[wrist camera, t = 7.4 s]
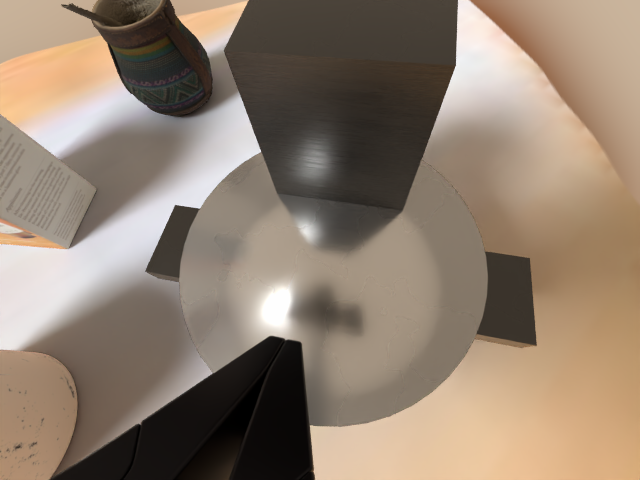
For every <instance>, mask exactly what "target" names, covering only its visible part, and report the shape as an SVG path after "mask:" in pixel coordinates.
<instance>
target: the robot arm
mask: <svg viewBox="0 0 640 480" xmlns="http://www.w3.org/2000/svg"><path fill="white" fill-rule="evenodd" d="M313 471H314V465H313V455H312V444H311V434H310V423H309V412H308V402H307V391H306V381H305V370H304V359H303V349H302V343H301V342H300V341H296V340H291V339H287V340H285V339H284V338H282V337H277V336H269V337H267V338H265V339H264V340H262V341H261V342H259V343H258V344H256V345H255V346H253V347H252V348H250V349H249V350H247V351H246V352H244V353H243V354H241V355H240V356H238V357H237V358H235V359H234V360H232V361H231V362H229V363H228V364H226V365H225V366H223V367H222V368H220V369H219V370H217V371H216V372H215V373H213V374H212V375H210V376H209V377H207V378H206V379H204V380H203V381H201V382H200V383H198V384H197V385H195V386H194V387H192V388H191V389H189V390H188V391H186V392H185V393H183V394H182V395H180V396H179V397H177V398H176V399H174V400H173V401H171V402H170V403H168V404H167V405H165V406H164V407H162V408H161V409H159V410H158V411H156V412H155V413H153V414H152V415H150V416H149V417H147V418H146V419H144V420H143V421H142V422H141V425H140V424H136V425H135V426H133V427H132V428H130V429H129V430H127V431H126V432H124V433H123V434H121V435H120V436H118V437H117V438H115V439H114V440H112V441H111V442H109V443H108V444H106V445H104V446H103V447H101V448H100V449H98V450H97V451H95V452H93V453H92V454H90V455H89V456H87V457H86V458H84V459H82V460H81V461H79V462H77V463H76V464H74V465H72V466H71V467H69V468H67V469H66V470H64V471H62V472H61V473H59V474H57V475H56V476H54V477H52V478H50V479H49V480H315V474H314V472H313Z"/></svg>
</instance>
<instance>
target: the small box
mask: <svg viewBox="0 0 640 480" xmlns="http://www.w3.org/2000/svg"><path fill="white" fill-rule="evenodd" d="M96 190H97V189H96V187H95V186H93V185H92V184H90V183H89V182H88V181H87V180H85V179H84V178H83V177H81V176H80V175H79V174H77V173H76V172H75V171H74V170H72V169H71V168H70V167H68V166H67V165H66V164H64V163H63V162H62V161H60V160H59V159H58V158H57V157H55V156H54V155H53V154H51V153H50V152H49V151H48V150H46V149H45V148H44V147H42V146H41V145H40V144H38V143H37V142H36V141H34V140H33V139H32V138H30V137H29V136H28V135H27V134H25V133H24V132H23V131H21V130H20V129H19V128H18V127H16V126H15V125H14V124H12V123H11V122H10V121H8V120H7V119H6V118H4V117H3V116H2V115H1V114H0V244H10V245H21V246H33V247H45V248H57V249H68V248H69V247H70V244H71V242H72V240H73V238H74V236H75V234H76V232H77V229H78V227H79V225H80V223H81V221H82V219H83V217H84V215H85V213H86V211H87V209H88V207H89V205H90V203H91V201H92V199H93V197H94V194H95V192H96Z"/></svg>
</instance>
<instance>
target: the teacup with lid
mask: <svg viewBox="0 0 640 480" xmlns="http://www.w3.org/2000/svg"><path fill="white" fill-rule="evenodd" d="M77 406H78V401H77V392H76V387H75V384H74V381H73V378H72V376H71V374H70V373H69V371H68V370H67V368H66V367H65V366H64V365H63V364H62V363H61V362H60V361H58V360H57V359H55V358H54V357H52V356H50V355H47V354H43V353H38V352H27V351H12V350H0V480H49V479H50V478H51V476H52V475H53V473H54V472H55V471H56V469H57V467H58V466H59V464H60V462H61V461H62V459H63V457H64V455H65V453H66V451H67V448H68V446H69V443H70V441H71V438H72V435H73V432H74V428H75V424H76V418H77Z"/></svg>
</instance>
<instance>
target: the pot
mask: <svg viewBox="0 0 640 480" xmlns="http://www.w3.org/2000/svg"><path fill="white" fill-rule="evenodd" d="M199 210H200V209H198V208H191V207H184V206H178V205H175V207H174V209H173V211H172V213H171V216H170V218H169V220H168V222H167V224H166V227H165V229H164V231H163V233H162V235H161V238H160V240H159V242H158V244H157V246H156V249H155V251H154V253H153V255H152V257H151V260H150V262H149V264H148V266H147V268H146V271H145V272H147V273H149V274H151V275H153V276H155V277H157V278H160V279H165V280H170V281H175V282H179V277H180V264H181V258H182V253H183V249H184V244H185V241H186V238H187V236H188V233H189V230H190V227H191V225H192V223H193V221H194V219H195V217H196V215H197V213H198V211H199ZM485 254H486V261H487V272H488V283H487V298H486V303H485V308H484V313H483V317H482V320H481V323H480V325H479V328H478V331H477V334H476V336H475V339H478V340H483V341H488V342H494V343H499V344H504V345H509V346H515V347H520V348H523V347H530V346H537V344H536V331H535V319H534V307H533V294H532V282H531V269H530V258H525V257H518V256H511V255H505V254H498V253H491V252H485Z"/></svg>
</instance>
